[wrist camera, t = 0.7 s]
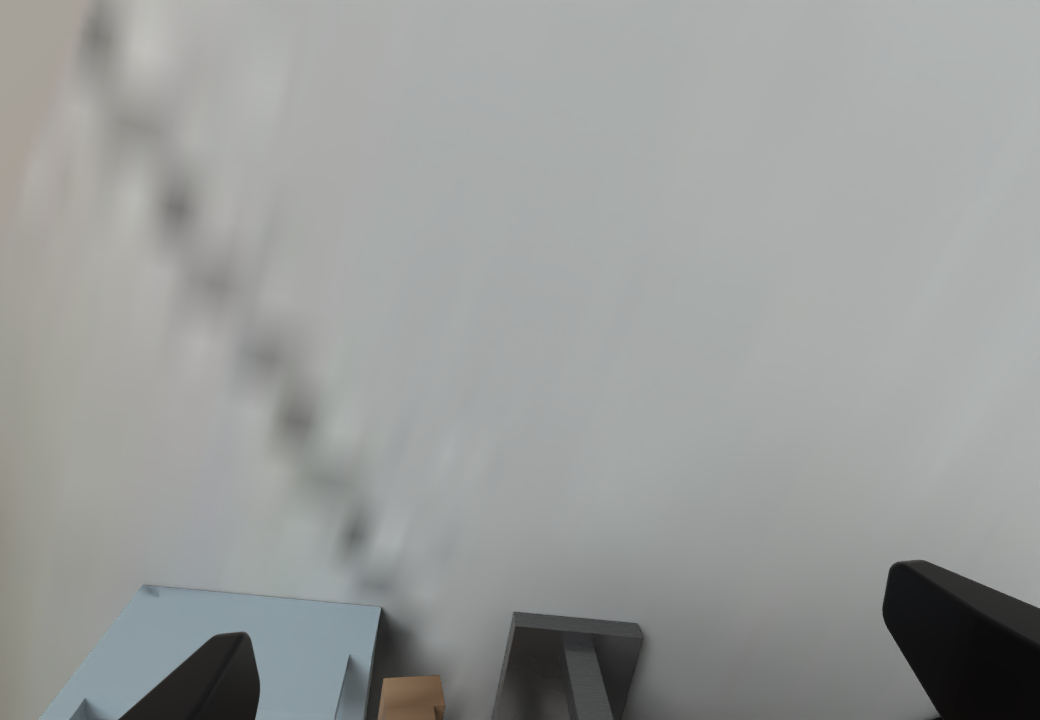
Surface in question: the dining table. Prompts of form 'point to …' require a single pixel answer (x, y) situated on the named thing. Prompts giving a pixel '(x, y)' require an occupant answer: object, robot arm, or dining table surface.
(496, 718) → the pivot stand
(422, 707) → the lever
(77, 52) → the dining table surface
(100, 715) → the box
